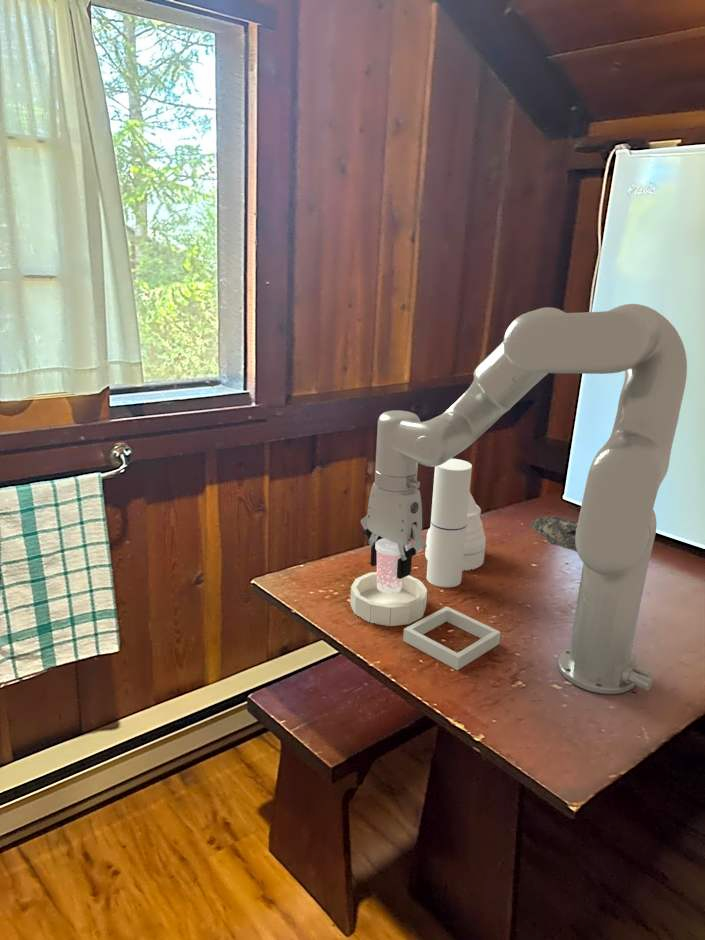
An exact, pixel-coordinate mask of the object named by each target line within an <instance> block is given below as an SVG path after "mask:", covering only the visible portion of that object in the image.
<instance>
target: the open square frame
mask: <svg viewBox="0 0 705 940" xmlns="http://www.w3.org/2000/svg"><path fill="white" fill-rule="evenodd" d="M446 622H447V623H449V624H450V625H453V626H454V627H457V628H459V629H461V630H463V631H465V632H467V633H469V634H470V635H473V636H475V637H477V638H479V639H478V640H477V641H475V642H474V643H471V644H470V645H468V646H467V647H465V648H464V649H462V650H460V651H458V652H457V651H454V650H452V649H450V648H449V647H447V646H444V645H443V644H441V643H439V642H437V641H436V640H434V639H431V638H430V637H428V636H426V635H424V634H426V633H428V632H430V631H432V630H433V629H436V628H438V627H439V626H441V625H443V624H445V623H446ZM501 634H502V633H501V631H499V630H497V629H495V628H493V627H491V626H489V625H487V624H484V623H482V622H481V621H478V620H477V619H474V618H472V617H470V616H467V615H465V614H464V613H461V612H459V611H458V610H456V609H453V608H451V607H449V606H444V607H442V608H441V609H439V610H437V611H435V612H433V613H431V614H430V615H427V616H425V617H424V618H423V617H422V618H421V619H419V620H417V621H415V622H414V623H413V624H412V623H411V624H409V625H407V627H405V628H403V636H402V637H403V638H402V641H403V642H405V643H407V644H409V645H410V646H412V647H413V648H416V649H417V650H419V651H421V652H423V653H425V654H427V655H428V656H430V657H433V659H436V660H438V661H439V662H442V663H443V664H445V665H446V666H449V667H450V668H453V670H456V671H459V670H460V669H462V668H464V667H465V666H467V665H469V664H470V663H471V662H473V661H475V660H476V659H478V658H479V657H481V656H482V655H484V654H486V653H487V652H489V651H490V650H492V649H493V648H496V647H497V646H498V645H499V644H500V643H501V642H500V641H501V640H500V639H501Z"/></svg>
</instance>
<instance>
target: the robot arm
mask: <svg viewBox="0 0 705 940" xmlns="http://www.w3.org/2000/svg"><path fill="white" fill-rule="evenodd" d="M687 359H688V358H687V352H686V349H685V345H684V342H683V340H682V338H681V336H680V334H679V332H678V330H677V329H676V327H675V326H674V325H673V324H672V323H671V322H670V321H669V320H668V318H666V317H665V316H664V315H662V314H661V313H660V312H658V311H657V310H655V309H653V308H651V307H649V306H647V305H643V304H638V303H628V304H622V305H619V306H616V307H613V308H612V309H609V310H607V311H606V310H605V311H587V312H565V311H563V310H561V309H560V308H556V307H550V306H549V307H541V308H538V309H535V310H531V311H528V312H526V313H523V314H521V315H519V316H517V317H516V318H515V319H514V320H513V321H512V322H511V323H510V325H509V326H508V327H507V328H506V331H505V334H504V336H503V341H502V342H501V343H500V344H499V345H498V346H496V348H495V349H494V350H493V351H492V352H491V353H490V354H489V355H487V357H486V358H485V359H483V360H482V361H481V362H480V363H479V364H478V365H477V367H476V368H475V369H474V371H473V380H472V383H471V384H470V386H469V388H467V390H465V392H464V393H463V394H462V395H461V396H460V397H459V398H458V399H457V400H456V401H455V402H454V403H452V405H450V407H449V408H448V409H446V410H445V411H444V412H443V413H442V414H440V415H438V416H435V417H433V418H431V419H428V420H426V421H421V419H420V418H419V416H418V415H417V414H416V413H413V412H410V411H407V410H388V411H384V412H382V414H380V415H379V417H378V418H377V419H378V420H377V428H376V429H377V430H376V431H377V433H376V434H377V435H376V447H375V448H376V449H375V450H376V451H375V470H374V482H373V483H372V485H371V490H370V494H369V499H368V505H367V514H365V516H364V517H363V518H362V519H360V524H361V526H362V529H364V531H365V535H366V536H367V539H368V544H369V546H370V549H371V550H370V566H372V567H377V550H376V549H375V543H376V541H377V540H380V539H383V538H385V539H387V540H390V541H392V542H394V543H397V544H398V548H399V552H400V557H401V558H399V559H398V564H397V578H399V579H402V578H404V577H406V576H408V575H409V576H411V573H412V562H413V560H412V559H413V557H415V556H416V555H418V554H419V553H420V552H421V551H423V550H424V549H426V546H427V545H426V541H425V538H424V537H423V535H422V531H423V508H422V507H423V505H422V499H421V498H422V497H421V491H420V489H419V488H420V487H421V482H420V481H418V479H417V477H418V464H420V465H423V466H425V467H433V468H435V466H439V465H441V464H443V463H445V462H446V461H448V460H450V459H453V458H454V457H455V456H457V455H458V454H460V453H462V452H463V451H465V450H466V449H467V448H469V447H470V446H471V445H472V444H474V442H475V441H477V440H478V439H479V438H480V437H481V436H482V435H483V434H484V433H485V432H487V431H488V429H490V428H491V427H492V426H493V425H494V424H495V423H496V422H497V421H498V420H500V418H501V417H502V416H503V415H504V414H506V413H507V412H508V411H510V410H511V409H512V407H514V406H515V405H516V404H517V403H518V402H519V401H520V400H521V399H522V398H524V396H525V395H526V394H527V393H528V392H529V391H531V389H533V387H535V386H536V385H537V384H539V382H540V381H542V379H544V378H545V377H546V376H547V375H548V374H589V375H590V374H591V375H592V374H594V375H595V374H598V375H601V374H602V375H605V374H615V373H616V374H617V373H621V372H624V380H623V386H622V388H621V391H620V395H619V399H618V405H617V409H616V410H617V411H616V414H615V418H614V419H615V420H614V422H613V426H612V427H613V428H612V429H611V430H612V431H611V433H610V437H609V438H608V439H607V441H606V442H605V444H604V445H603V446H602V447H601V449H600V450H598V452H597V453H596V454H595V456H594V458H593V460H592V462H591V465H590V468H589V471H588V475H587V477H586V481H585V482H586V483H585V488H584V492H583V495H582V496H583V497H582V502H581V506H580V511H579V514H578V515H579V516H578V521H577V523H578V524H577V529H576V536H575V544H576V550H577V552H576V553H577V554H578V557H579V559H580V560H581V562H582V569H581V576H580V582H579V587H578V593H577V594H578V595H577V601H576V606H575V614H574V621H573V627H572V633H571V640H570V646H569V647H568V648H566V649H565V650H563V651H562V652H561V653H560V655H559V657H558V662H557V667H558V670H559V672H560V673H561V675H562V676H563V677H564V678H565V679H566V680H568V681H569V682H570V683H572V684H573V685H574V686H577V687H579V688H581V689H583V690H586V691H589V692H593V693H597V694H604V695H616V694H623V693H625V692H628V691H630V690H632V689H633V688H634V687H635V686H636V687H637V688H641V689H643V690H644V691H647V692H648V691H650V689H651V688H652V685H653V683H654V681H653V679H652V678H651V677H652V671H650V670H648V669H645V667H644V668H643V667H641V666H639V664H638V663H637V657H638V654H636V653H634V652H632V650H633V647H634V643H635V642H634V641H635V636H636V635H635V634H636V630H637V626H638V625H637V624H638V620H639V619H638V618H639V613H640V609H641V608H640V607H641V602H642V598H643V595H644V594H643V593H644V589H645V583H646V577H647V573H648V567H649V563H650V560H651V559H650V558H651V555H652V550H653V546H654V541H655V537H656V532H657V516H656V513H655V510H654V507H655V503H656V498H657V495H658V493H659V492H658V491H659V488H660V486H661V484H662V482H663V481H664V479H665V478H666V475H667V473H668V471H669V467H670V459H671V455H672V447H673V443H674V439H675V435H676V430H677V427H678V422H679V418H680V411H681V407H682V404H683V403H682V402H683V399H684V394H685V389H686V385H687V384H686V383H687V377H688V376H687V375H688V374H687V373H688V360H687ZM405 545H407V549H408V550H407V551H406V549H405Z"/></svg>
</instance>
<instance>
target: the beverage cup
mask: <svg viewBox="0 0 705 940" xmlns="http://www.w3.org/2000/svg"><path fill="white" fill-rule="evenodd" d="M375 549H376V550H377V565H376V572H377V589H378V590H379V591H381V592H383V593H387V594H393V593H397V592H399V591H400V590H401V586H402V579H403V578H402V579H399V578H397V564H398V559H399V558H401V557H400V552H399V548H398V544H397V543H394V542H392V541H390V540H387V539H385V538H383V539H380V540H377V541H376V543H375ZM405 549H406V551H408V549H407V545H405Z"/></svg>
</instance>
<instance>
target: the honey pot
mask: <svg viewBox="0 0 705 940" xmlns="http://www.w3.org/2000/svg"><path fill="white" fill-rule="evenodd" d="M481 514H482V509H481V506H479V505H477V503H476V501H475V499H474V497H473V495H472V493H471V492H470V493H469V504H468V515H467V525H466V536H465V547H464V557H463V568H462V572H463V571H464V570H465V571H471V569H472V570H475V569H477V568H479V567H481V566H482V565H483V564H484V561H485V555H486V554H485V552H486V544H487V543H486V542H487V537H486V535H485V529H484V526H483V525H484V524H483V521H482V520H481ZM429 539H430V528H428V530H427V533H426V539H425V540H426V541H425V543H426V545H427V546H426V548H425V552H424V554H425V555H424V556H425V559H426V560H427V561H428V552H429Z"/></svg>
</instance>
